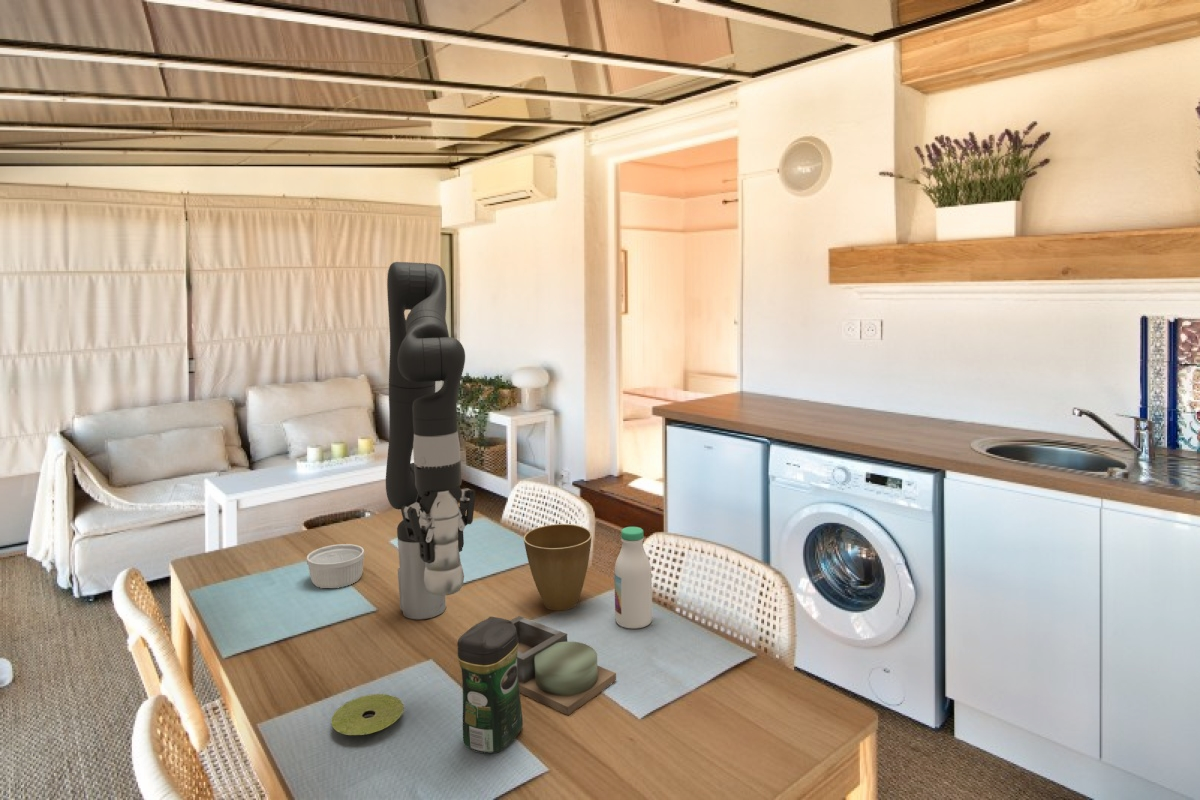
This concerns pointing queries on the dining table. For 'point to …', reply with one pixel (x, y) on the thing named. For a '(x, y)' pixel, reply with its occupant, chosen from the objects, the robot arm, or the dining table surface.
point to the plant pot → (558, 562)
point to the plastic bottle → (444, 547)
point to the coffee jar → (490, 685)
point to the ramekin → (336, 565)
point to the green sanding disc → (367, 714)
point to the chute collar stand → (557, 667)
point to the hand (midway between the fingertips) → (442, 556)
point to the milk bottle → (633, 581)
